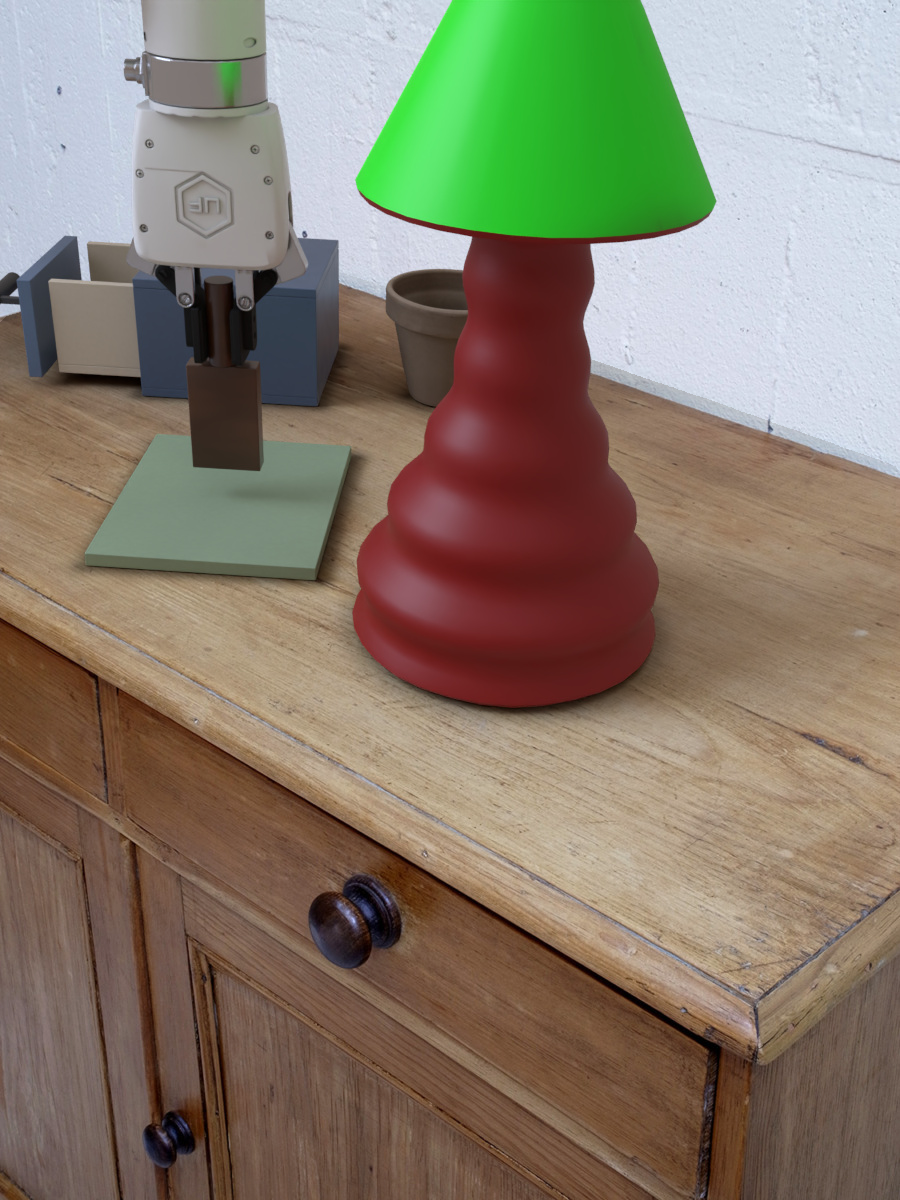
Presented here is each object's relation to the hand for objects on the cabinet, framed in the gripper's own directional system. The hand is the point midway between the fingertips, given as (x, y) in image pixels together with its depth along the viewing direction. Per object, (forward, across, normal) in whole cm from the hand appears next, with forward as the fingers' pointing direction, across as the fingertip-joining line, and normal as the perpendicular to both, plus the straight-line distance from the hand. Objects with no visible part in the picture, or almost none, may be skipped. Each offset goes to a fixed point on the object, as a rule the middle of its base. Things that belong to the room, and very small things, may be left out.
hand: (222, 355), depth 93 cm
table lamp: (+12, +21, -14) cm, 28 cm away
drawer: (+11, -17, +27) cm, 34 cm away
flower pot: (+12, +15, +24) cm, 31 cm away
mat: (+12, 0, 0) cm, 12 cm away
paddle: (+9, 0, 0) cm, 9 cm away
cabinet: (+12, -4, +27) cm, 30 cm away
